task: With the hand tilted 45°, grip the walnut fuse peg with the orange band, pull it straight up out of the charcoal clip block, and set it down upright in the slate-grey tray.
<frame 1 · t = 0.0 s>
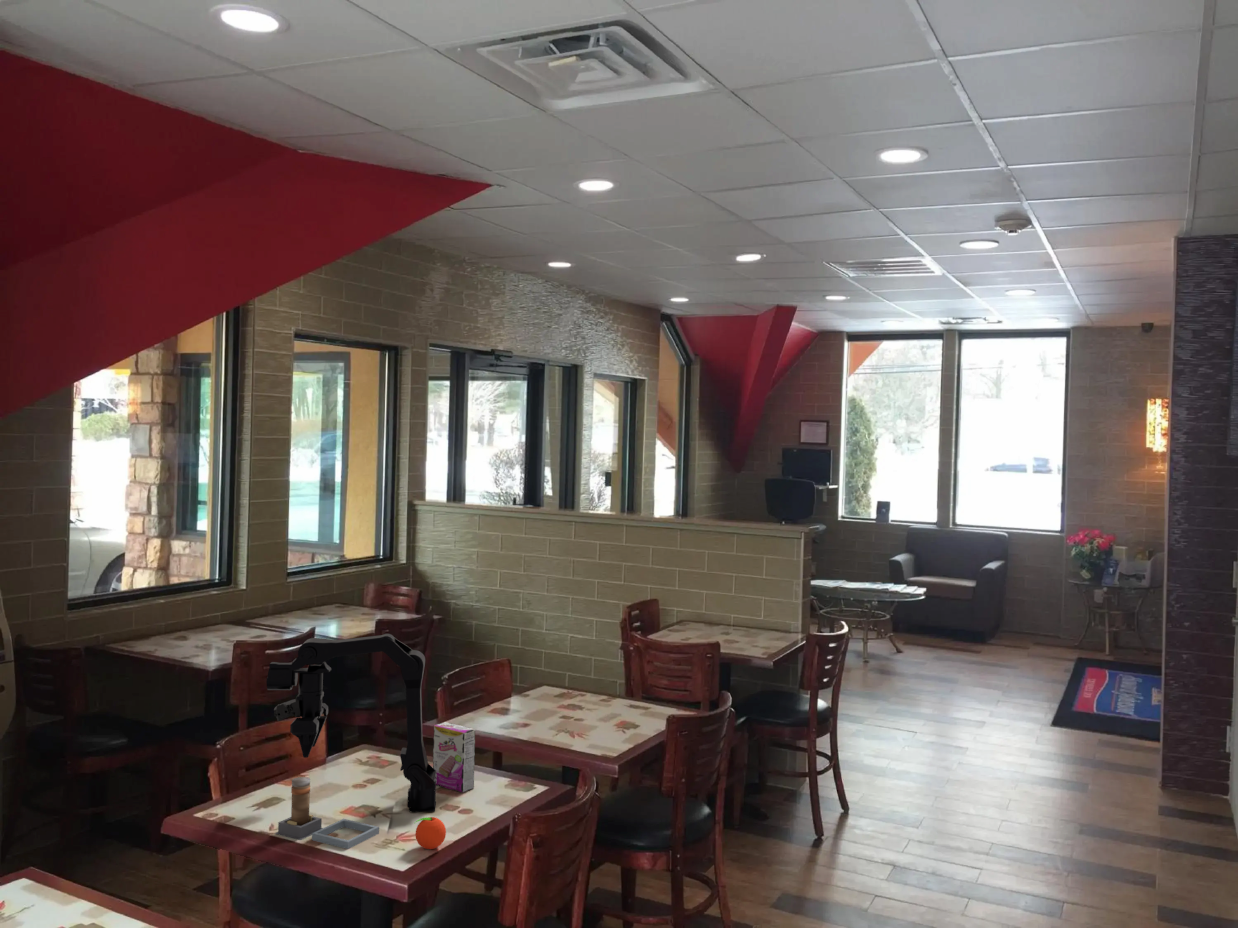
hand: (309, 751, 253), 15 cm above the table, tool pointing down, fingers open, 9 cm apart
candy bar box: (452, 787, 273), on the table
clementine: (428, 848, 231), on the table
fuse peg: (299, 830, 236), point 1 cm above the table, touching clip block
clip block: (299, 837, 236), on the table
tray: (345, 842, 233), on the table
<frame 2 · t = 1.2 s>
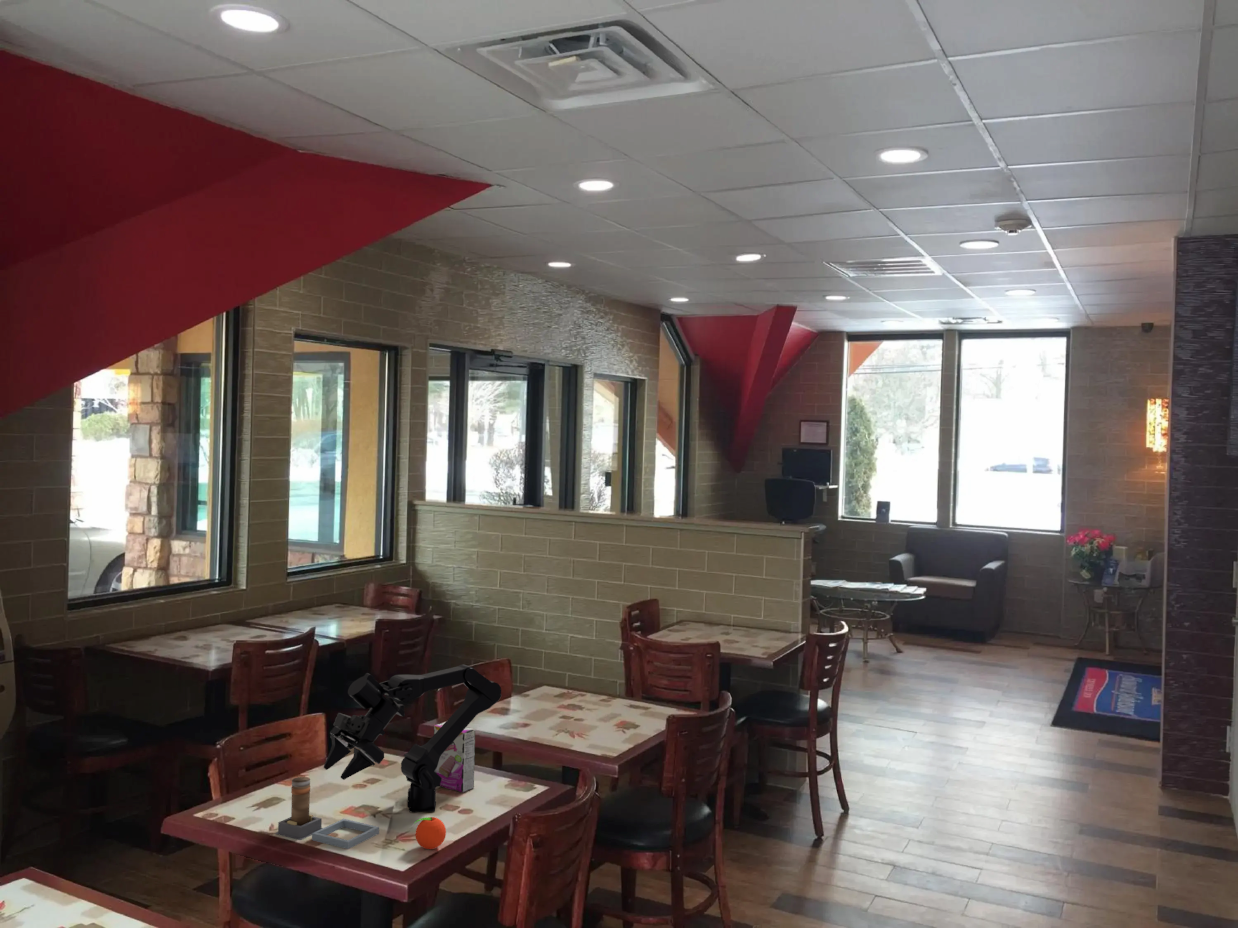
hand: (333, 773, 241), 13 cm above the table, tool tilted 45°, fingers open, 9 cm apart
nothing on the table moved.
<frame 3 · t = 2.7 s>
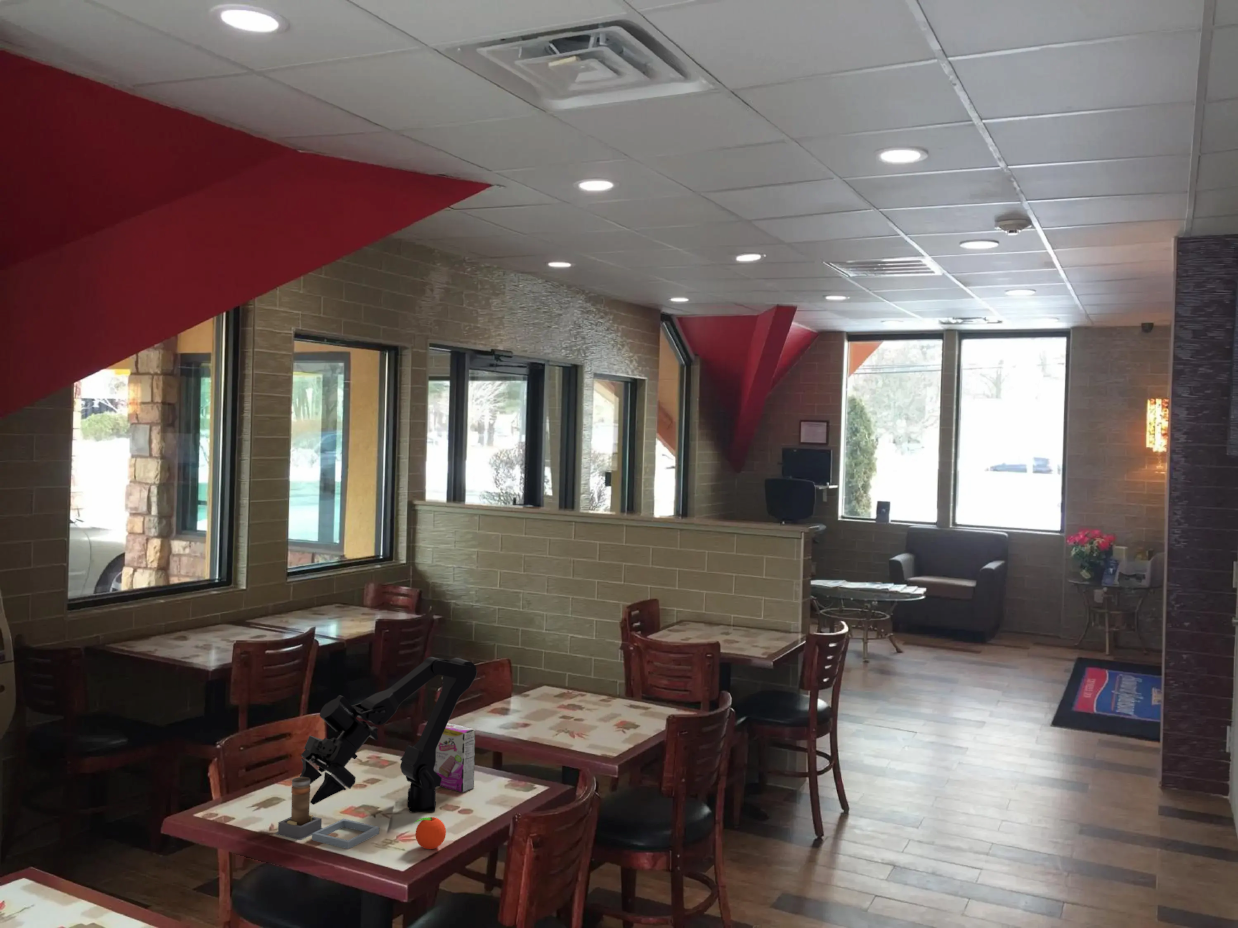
hand: (303, 797, 236), 9 cm above the table, tool tilted 45°, fingers open, 9 cm apart
nothing on the table moved.
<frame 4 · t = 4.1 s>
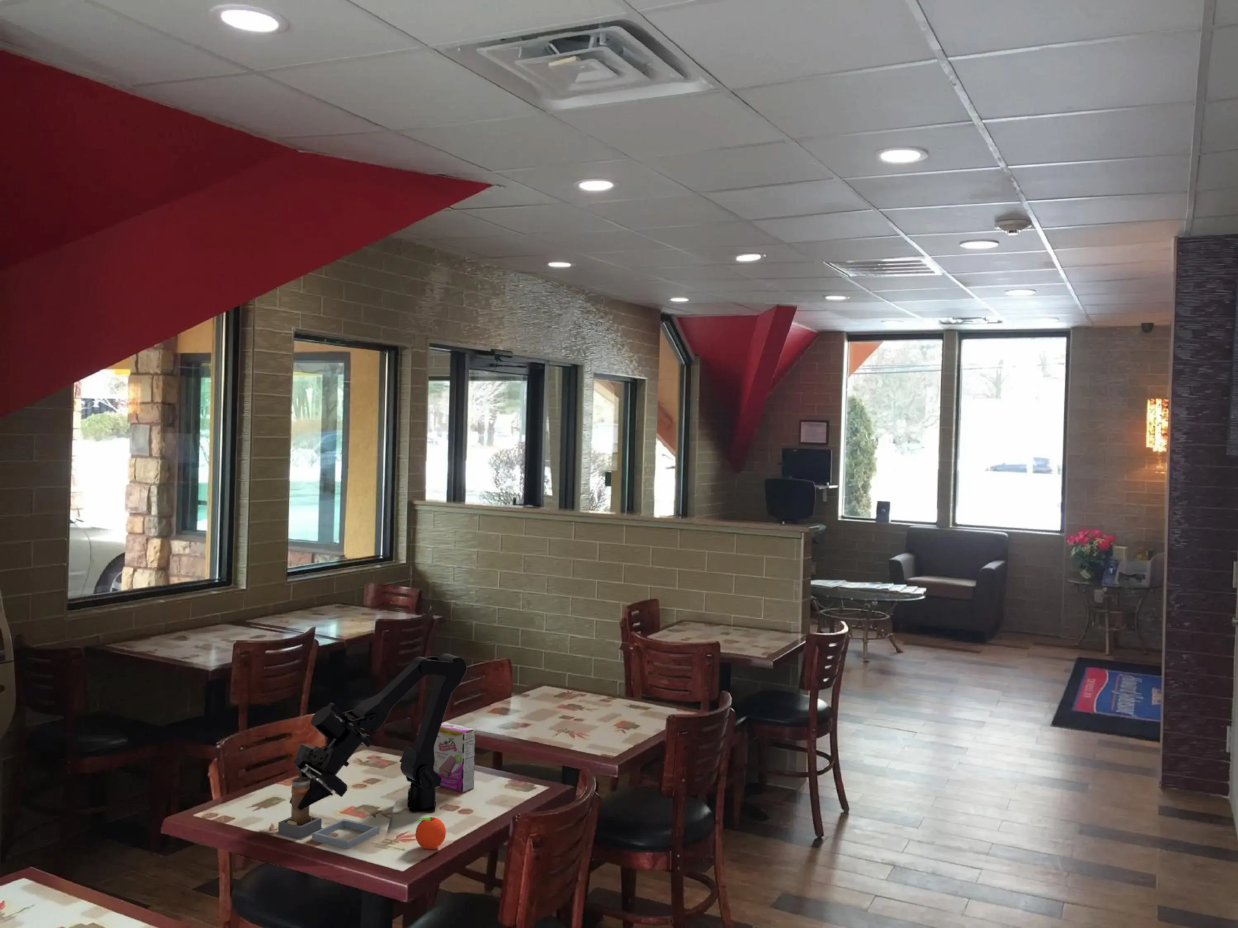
hand: (294, 806, 235), 8 cm above the table, tool tilted 45°, fingers closed on fuse peg, 4 cm apart
fuse peg: (299, 830, 236), point 2 cm above the table, touching clip block, gripper
everything else where it was.
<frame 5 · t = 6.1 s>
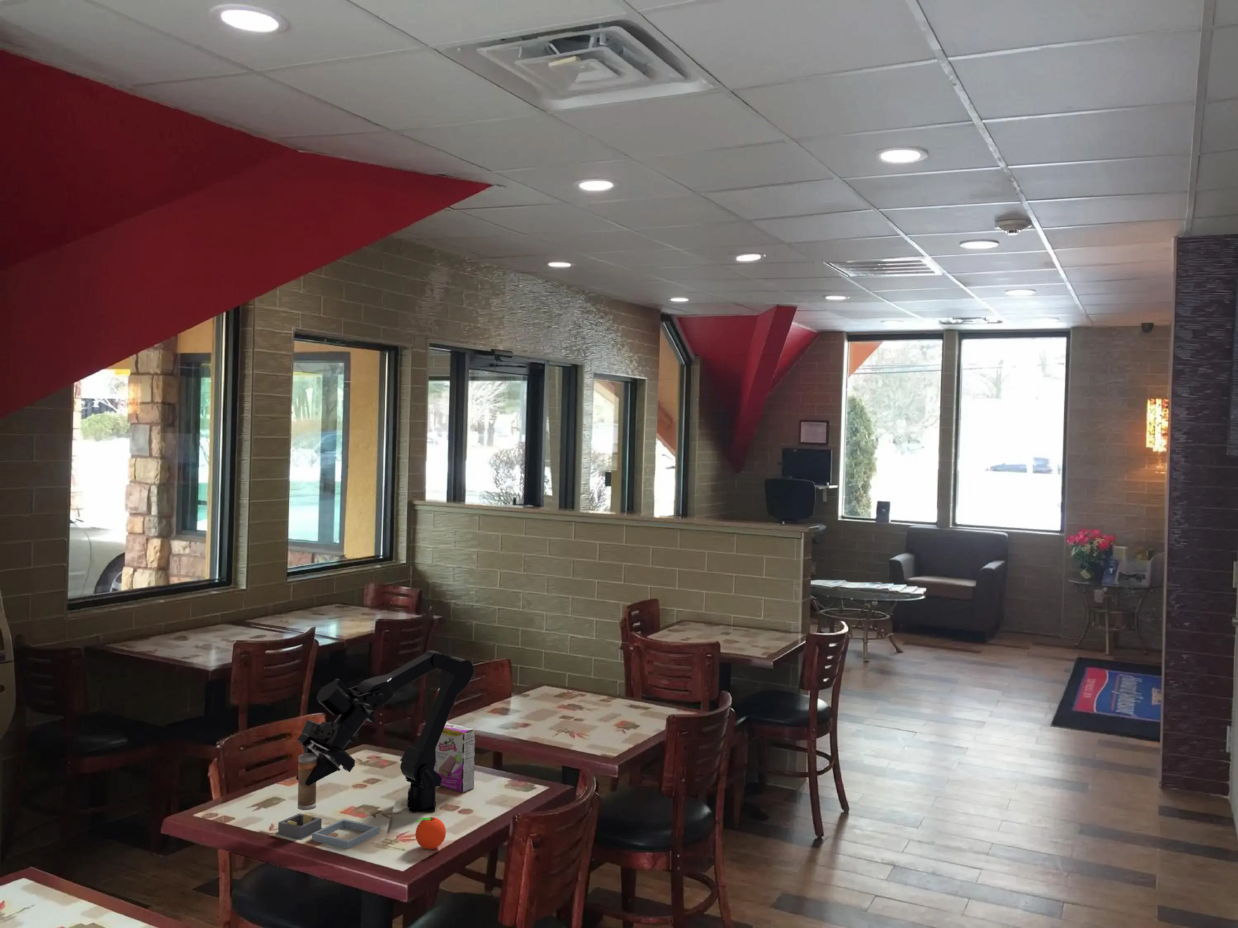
hand: (301, 782, 234), 13 cm above the table, tool tilted 45°, fingers closed on fuse peg, 4 cm apart
fuse peg: (306, 806, 235), point 7 cm above the table, touching gripper
everything else where it was.
when the fingers open (8 cm above the table, at t = 8.3 s): fuse peg drops 2 cm, resting on tray.
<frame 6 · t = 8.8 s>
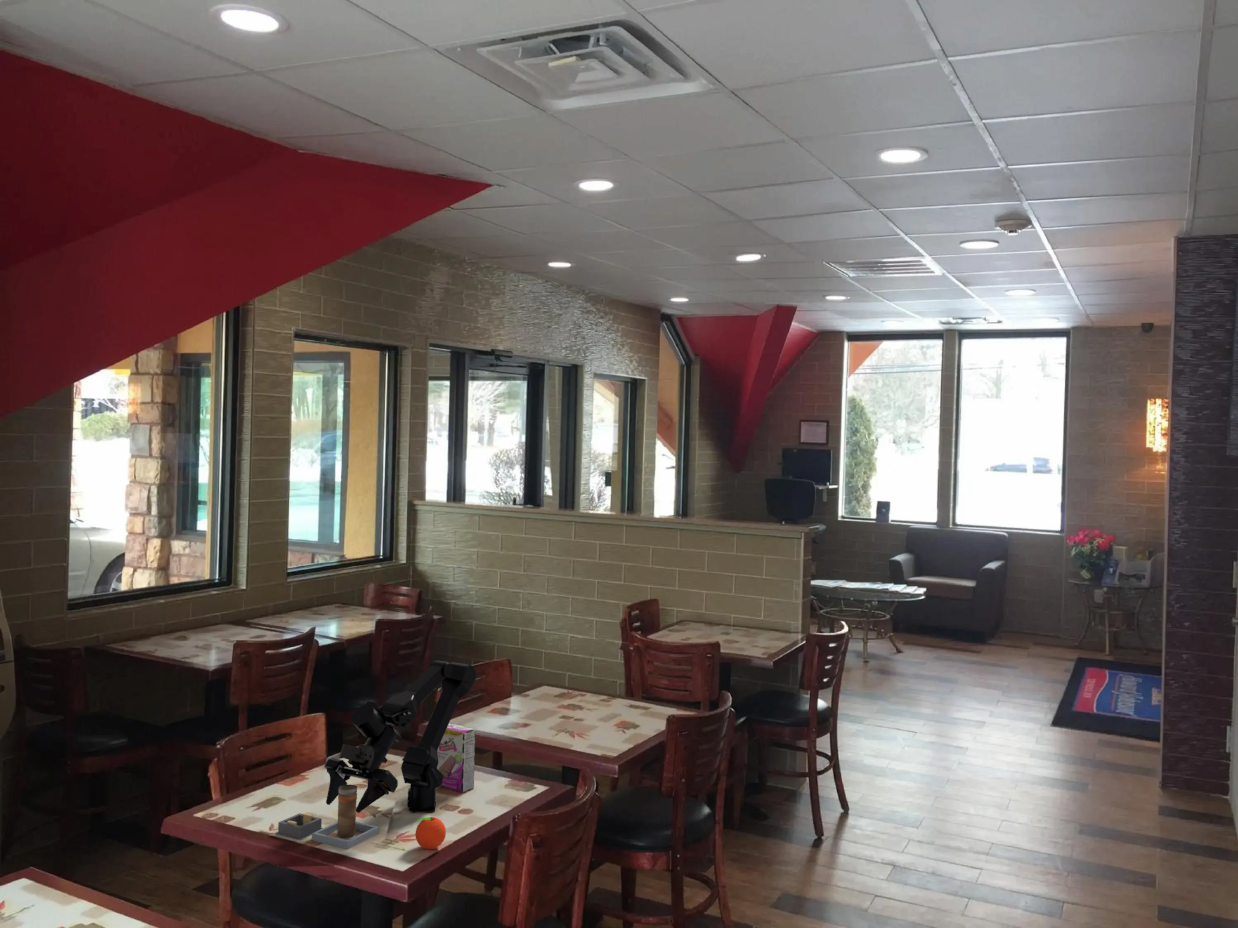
hand: (342, 807, 232), 9 cm above the table, tool tilted 45°, fingers open, 9 cm apart
fuse peg: (345, 839, 233), point 1 cm above the table, touching tray
everything else where it was.
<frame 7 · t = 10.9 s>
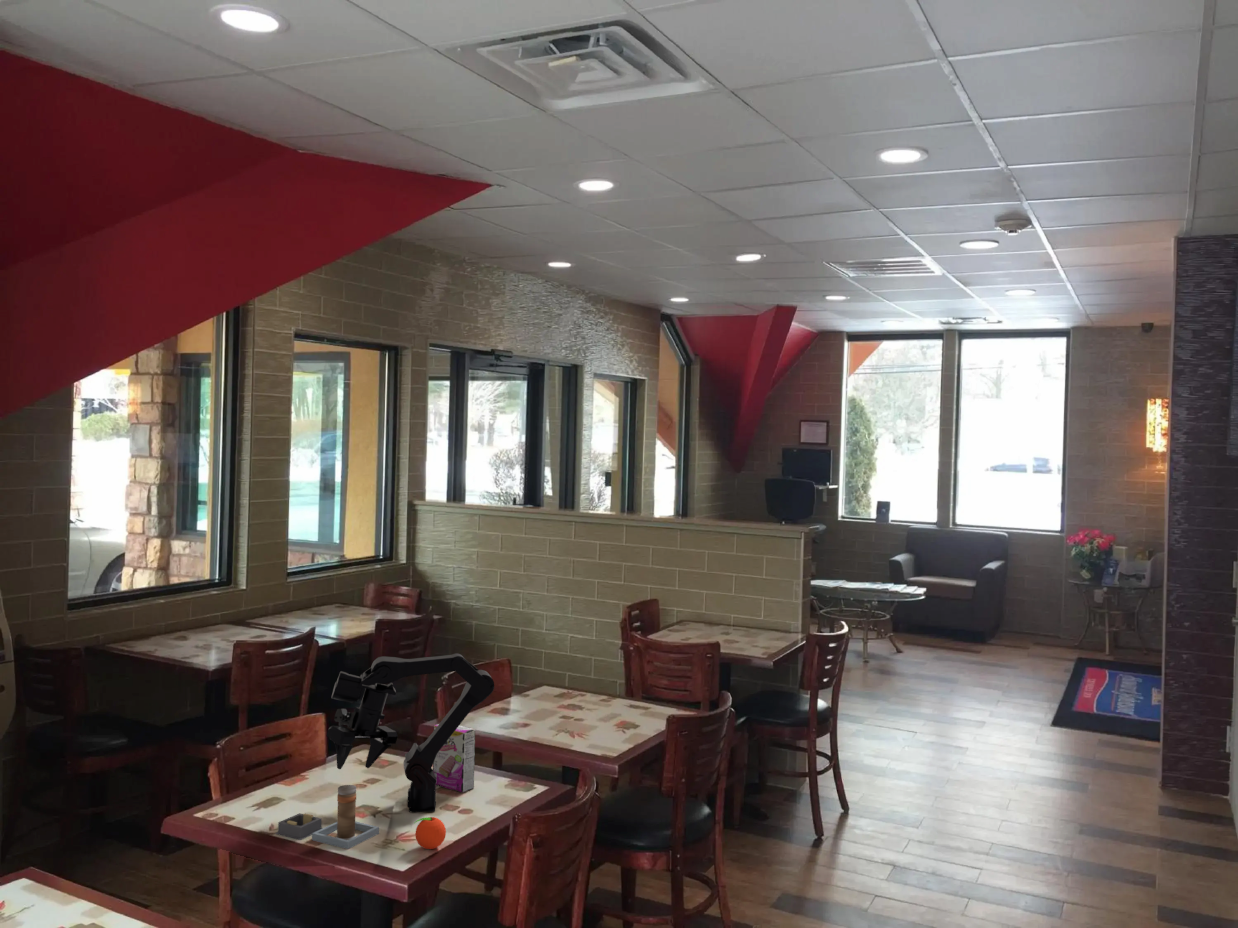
hand: (353, 767, 252), 11 cm above the table, tool tilted 15°, fingers open, 9 cm apart
nothing on the table moved.
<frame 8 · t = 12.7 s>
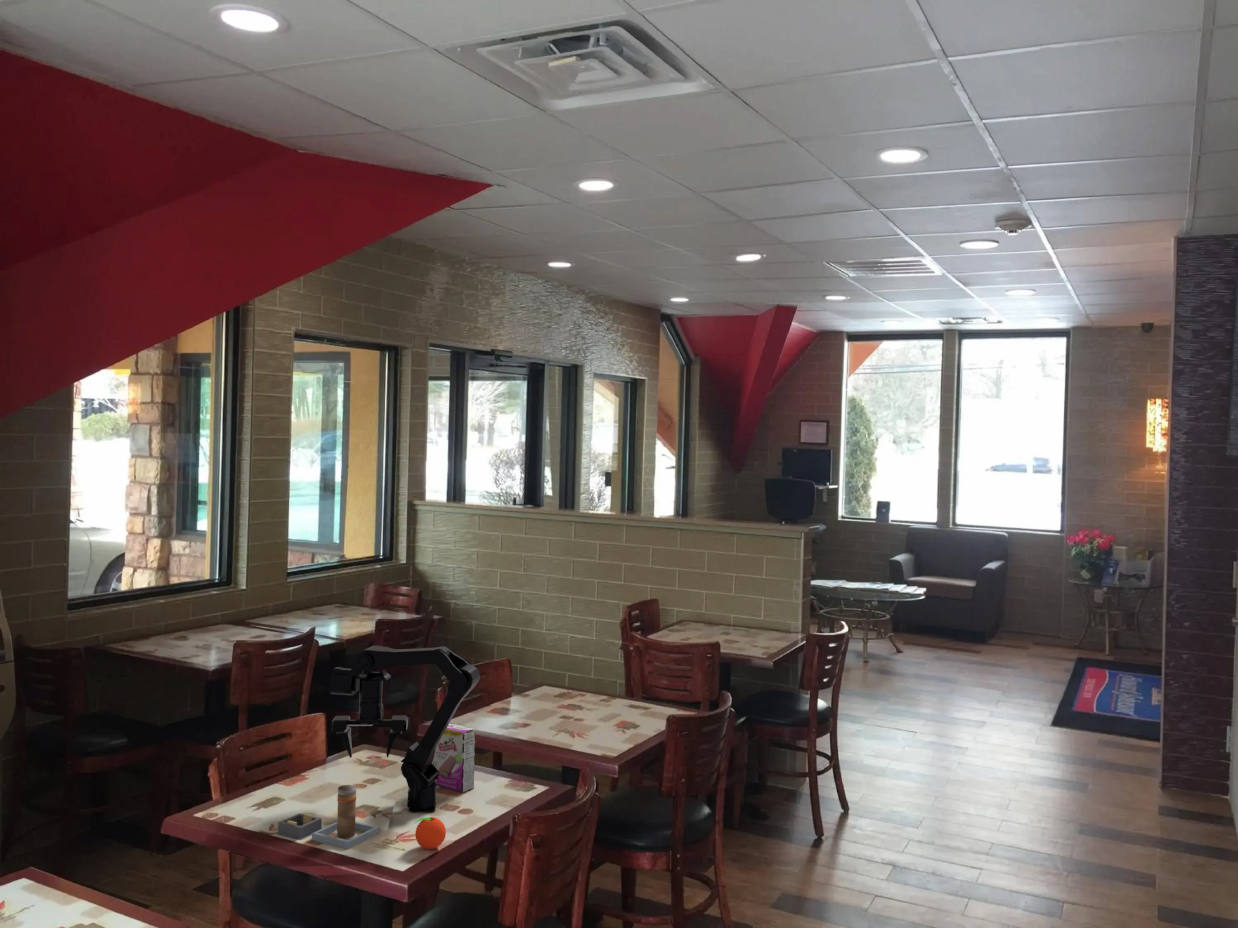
hand: (369, 756, 259), 12 cm above the table, tool pointing down, fingers open, 9 cm apart
nothing on the table moved.
at the end: fuse peg 0.0 cm off-centre on the tray, point 0.8 cm above the tray's base; the gripper is holding nothing; fuse peg tilted 0° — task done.
